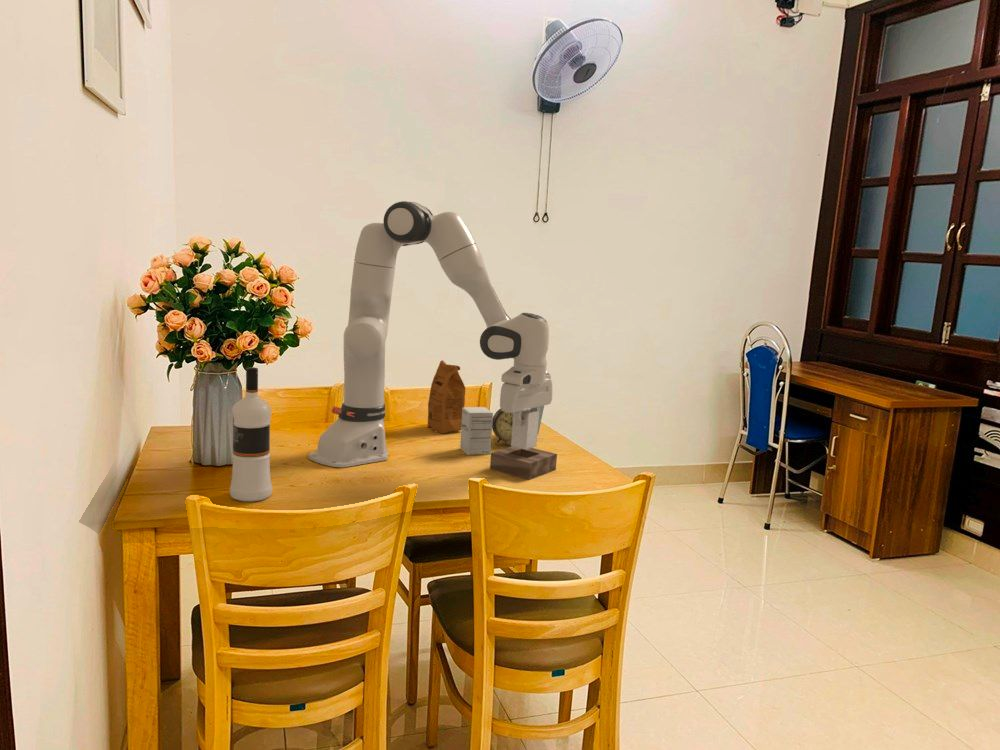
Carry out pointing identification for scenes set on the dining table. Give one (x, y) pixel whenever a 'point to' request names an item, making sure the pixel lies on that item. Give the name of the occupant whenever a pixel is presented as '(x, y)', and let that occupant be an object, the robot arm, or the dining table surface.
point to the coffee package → (446, 399)
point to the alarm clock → (503, 426)
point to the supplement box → (476, 430)
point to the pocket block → (523, 462)
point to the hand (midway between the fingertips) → (525, 424)
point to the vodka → (251, 444)
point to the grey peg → (526, 430)
